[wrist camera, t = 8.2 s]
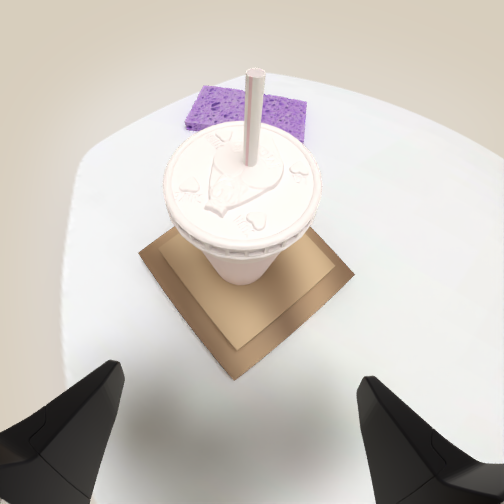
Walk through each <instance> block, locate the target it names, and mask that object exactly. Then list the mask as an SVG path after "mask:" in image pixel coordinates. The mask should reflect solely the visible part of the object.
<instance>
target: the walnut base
mask: <svg viewBox="0 0 504 504" xmlns="http://www.w3.org/2000/svg"><path fill="white" fill-rule="evenodd" d="M139 255H140V256H141V258H142V260H143V261H144V263H145V264H146V266H147V267H148V269H149V270H150V271H151V273H152V274H153V276H154V277H155V279H156V280H157V282H158V283H159V285H160V286H161V287H162V289H163V290H164V292H165V293H166V294H167V296H168V297H169V299H170V300H171V301H172V303H173V304H174V306H175V307H176V308H177V310H178V311H179V312H180V314H181V315H182V316H183V318H184V319H185V320H186V322H187V323H188V324H189V326H190V327H191V328H192V330H193V331H194V332H195V333H196V335H197V336H198V337H199V339H200V340H201V341H202V342H203V344H204V345H205V346H206V347H207V349H208V350H209V351H210V352H211V354H212V355H213V356H214V357H215V359H216V360H217V361H218V362H219V363H220V365H221V366H222V367H223V368H224V369H225V371H226V372H227V373H228V374H229V375H230V376H231V378H232V379H233V380H234V381H235V380H236V379H237V378H239V377H240V376H241V375H242V374H244V373H245V372H246V371H247V370H249V369H250V368H251V367H252V366H254V365H255V364H256V363H257V362H259V361H260V360H261V359H262V358H264V357H265V356H266V355H267V354H268V353H270V352H271V351H272V350H273V349H274V348H276V347H277V346H278V345H279V344H280V343H281V342H283V341H284V340H285V339H286V338H287V337H288V336H290V335H291V334H292V333H293V332H294V331H295V330H296V329H298V328H299V327H300V326H301V325H302V324H303V323H304V322H305V321H307V320H308V319H309V318H310V317H311V316H312V315H313V314H314V313H315V312H316V311H317V310H319V309H320V308H321V307H322V306H323V305H324V304H325V303H326V302H327V301H328V300H329V299H330V298H331V297H332V296H333V295H335V294H336V293H337V292H338V291H339V290H340V289H341V288H342V287H343V286H344V285H345V284H346V283H347V282H348V281H349V280H350V279H351V278H352V277H353V276H354V275H355V274H354V273H353V272H352V271H351V270H350V269H349V268H348V266H347V265H346V264H345V263H344V262H343V261H342V260H341V259H340V258H339V257H338V256H337V254H336V253H335V252H334V251H333V250H332V249H331V248H330V247H329V246H328V245H327V244H326V243H325V242H324V240H323V239H322V238H321V237H320V236H319V235H318V234H317V233H316V232H315V231H314V230H313V229H312V228H311V227H309V228H308V229H307V231H306V232H305V233H304V235H303V236H302V237H301V238H300V239H299V240H297V241H296V242H295V243H293V244H292V245H291V246H289V247H288V248H287V249H285V250H283V251H281V252H280V253H279V255H278V256H277V257H276V258H275V260H274V261H273V262H272V263H271V265H270V266H269V267H268V269H267V270H266V271H265V272H264V274H263V275H262V276H261V277H260V278H259V279H258V280H256V281H255V282H253V283H251V284H247V285H234V284H231V283H229V282H227V281H225V280H224V279H223V278H222V277H221V276H220V275H219V274H218V273H217V271H216V270H215V268H214V267H213V266H212V264H211V263H210V262H209V260H208V259H207V258H206V256H205V255H204V253H203V252H202V251H201V250H200V249H198V248H197V247H195V246H194V245H193V244H191V243H190V242H189V241H187V240H186V239H185V238H184V237H182V235H181V234H180V233H179V231H178V230H177V228H176V227H175V226H174V227H173V228H172V229H170V230H169V231H167V232H166V233H165V234H163V235H162V236H160V237H159V238H158V239H156V240H155V241H154V242H152V243H151V244H149V245H148V246H147V247H145V248H144V249H143V250H141V251H140V252H139Z"/></svg>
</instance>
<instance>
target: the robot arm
mask: <svg viewBox="0 0 504 504" xmlns="http://www.w3.org/2000/svg"><path fill="white" fill-rule="evenodd" d="M124 381H125V377H124V373H123V370H122V367H121V364H120V362H118V361H115V360H108V361H107V362H105V363H104V364H102V365H101V366H100V367H98V368H97V369H95V370H94V371H93V372H91V373H90V374H89V375H87V376H86V377H84V378H83V379H82V380H80V381H79V382H77V383H76V384H75V385H73V386H72V387H70V388H69V389H68V390H66V391H65V392H63V393H62V394H61V395H59V396H58V397H57V398H55V399H54V400H52V401H51V402H50V403H48V404H47V405H46V406H44V407H42V408H41V409H40V410H38V411H37V412H35V413H34V414H32V415H31V416H29V417H28V418H26V419H24V420H22V421H21V422H19V423H17V424H15V425H13V426H12V427H10V428H8V429H6V430H4V431H2V432H0V504H90V499H91V496H92V492H93V489H94V485H95V481H96V478H97V474H98V471H99V468H100V464H101V461H102V458H103V455H104V452H105V448H106V445H107V442H108V439H109V436H110V433H111V430H112V427H113V424H114V421H115V418H116V415H117V411H118V407H119V403H120V398H121V394H122V390H123V385H124ZM357 403H358V411H359V420H360V428H361V433H362V437H363V442H364V446H365V451H366V455H367V460H368V465H369V469H370V474H371V479H372V485H373V490H374V495H375V501H376V504H504V464H488V463H482V462H479V461H477V460H475V459H473V458H472V457H471V456H469V455H468V454H466V453H465V452H463V451H462V450H460V449H459V448H457V447H456V446H455V445H453V444H452V443H451V442H449V441H448V440H447V439H445V438H444V437H443V436H442V435H441V434H439V433H438V432H437V431H436V430H435V429H432V427H431V426H430V425H429V424H428V423H427V422H426V421H424V420H423V419H422V418H421V417H420V416H419V415H418V414H417V413H415V412H414V411H413V410H412V409H411V408H410V407H409V406H408V405H406V404H405V403H404V402H403V401H402V400H401V399H400V398H399V397H397V396H396V395H395V394H394V393H393V392H392V391H391V390H390V389H389V388H387V387H386V386H385V385H384V384H383V383H382V382H381V381H380V380H378V379H377V378H376V377H375V376H365V377H364V378H363V379H362V381H361V383H360V385H359V387H358V389H357Z"/></svg>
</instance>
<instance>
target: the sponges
mask: <svg viewBox="0 0 504 504" xmlns="http://www.w3.org/2000/svg"><path fill="white" fill-rule="evenodd" d="M306 107H307V102H303V101H300V100H295V99H288V98H285V97H281V96H271V95H265V94H264V95H263V106H262V116H261V123H265V124H268V125H271V126H274V127H277V128H279V129H281V130H284V131H286V132H287V133H289V134H291V135H292V136H294V137H295V138H297V139H298V140H299V141H300V142H301V143H302V144H303V142H304V132H305V118H306ZM244 114H245V92H244V91H243V90H237V89H230V88H221V87H216V86H203V88H202V89H201V91H200V93H199V95H198V97H197V101H195V103H194V105H193V107H192V109H191V111H190V113H189V114H188V116H187V119H186V120H185V124H186V129H187V130H193V131H200V130H203V129H205V128H207V127H210V126H212V125H216V124H220V123H224V122H231V121H244Z"/></svg>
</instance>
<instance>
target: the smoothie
mask: <svg viewBox="0 0 504 504" xmlns="http://www.w3.org/2000/svg"><path fill="white" fill-rule="evenodd" d="M265 74H266V73H265V71H264V70H262V69H259V68H251V69H248V70H247V71H246V85H245V114H244V121H231V122H224V123H220V124H216V125H212V126H210V127H207V128H205V129H203V130H200V131H199V132H197V133H195V134H194V135H192V136H191V137H189V138H188V139H187V140H185V141H184V142H183V143H182V144H181V145H180V146H179V147H178V148H177V149H176V151H175V152H174V153H173V155H172V156H171V158H170V160H169V162H168V164H167V166H166V169H165V173H164V178H163V194H164V199H165V202H166V206H167V209H168V213H169V216H170V219H171V221H172V223H173V224H174V226H175V227H176V228H177V230H178V231H179V233H180V234H181V235H182V237H184V238H185V239H186V240H187V241H189V242H190V243H191V244H193V245H194V246H195V247H197V248H198V249H200V250H201V251H202V252H203V253H204V255H205V256H206V258H207V259H208V260H209V262H210V263H211V264H212V266H213V267H214V268H215V270H216V271H217V273H218V274H219V275H220V276H221V277H222V278H223V279H224V280H225V281H227V282H229V283H231V284H234V285H247V284H251V283H253V282H255V281H256V280H258V279H259V278H260V277H261V276H262V275H263V274H264V272H265V271H266V270H267V269H268V267H269V266H270V265H271V263H272V262H273V261H274V260H275V258H276V257H277V256H278V255H279V253H280V252H281V251H283V250H285V249H287V248H288V247H289V246H291V245H292V244H293V243H295V242H296V241H297V240H299V239H300V238H301V237H302V236H303V235H304V233H305V232H306V231H307V229H308V228H309V227H310V225H311V224H312V223H313V220H314V217H315V214H316V211H317V208H318V206H319V203H320V200H321V195H322V178H321V173H320V170H319V167H318V164H317V162H316V160H315V159H314V157H313V155H312V154H311V152H310V151H309V150H308V149H307V148H306V146H304V145H303V144H302V143H301V142H300V141H299V140H298V139H297V138H295V137H294V136H292V135H291V134H289V133H287V132H286V131H284V130H281V129H279V128H277V127H274V126H271V125H268V124H265V123H261V116H262V106H263V95H264V85H265Z"/></svg>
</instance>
